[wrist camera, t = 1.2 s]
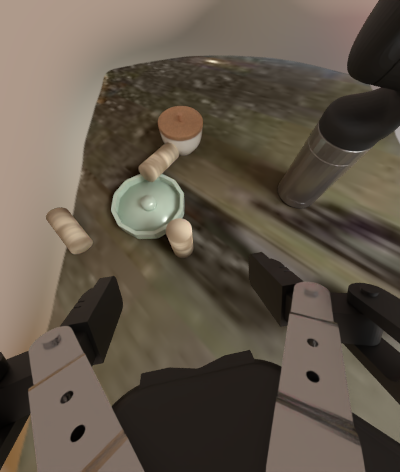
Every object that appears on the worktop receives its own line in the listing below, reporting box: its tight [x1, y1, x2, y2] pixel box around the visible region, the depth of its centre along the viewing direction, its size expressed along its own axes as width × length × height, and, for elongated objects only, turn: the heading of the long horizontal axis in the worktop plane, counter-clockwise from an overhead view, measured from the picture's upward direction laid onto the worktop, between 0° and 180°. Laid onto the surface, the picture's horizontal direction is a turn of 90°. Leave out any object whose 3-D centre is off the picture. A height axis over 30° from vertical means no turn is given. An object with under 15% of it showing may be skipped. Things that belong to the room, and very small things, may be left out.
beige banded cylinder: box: [139, 142, 179, 182], centre depth 45 cm, size 4×4×10 cm
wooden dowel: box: [46, 208, 93, 254], centre depth 40 cm, size 4×4×10 cm
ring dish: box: [111, 174, 184, 239], centre depth 44 cm, size 16×16×3 cm
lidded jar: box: [158, 106, 203, 156], centre depth 48 cm, size 11×11×9 cm
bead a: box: [166, 218, 193, 258], centre depth 37 cm, size 4×4×10 cm
